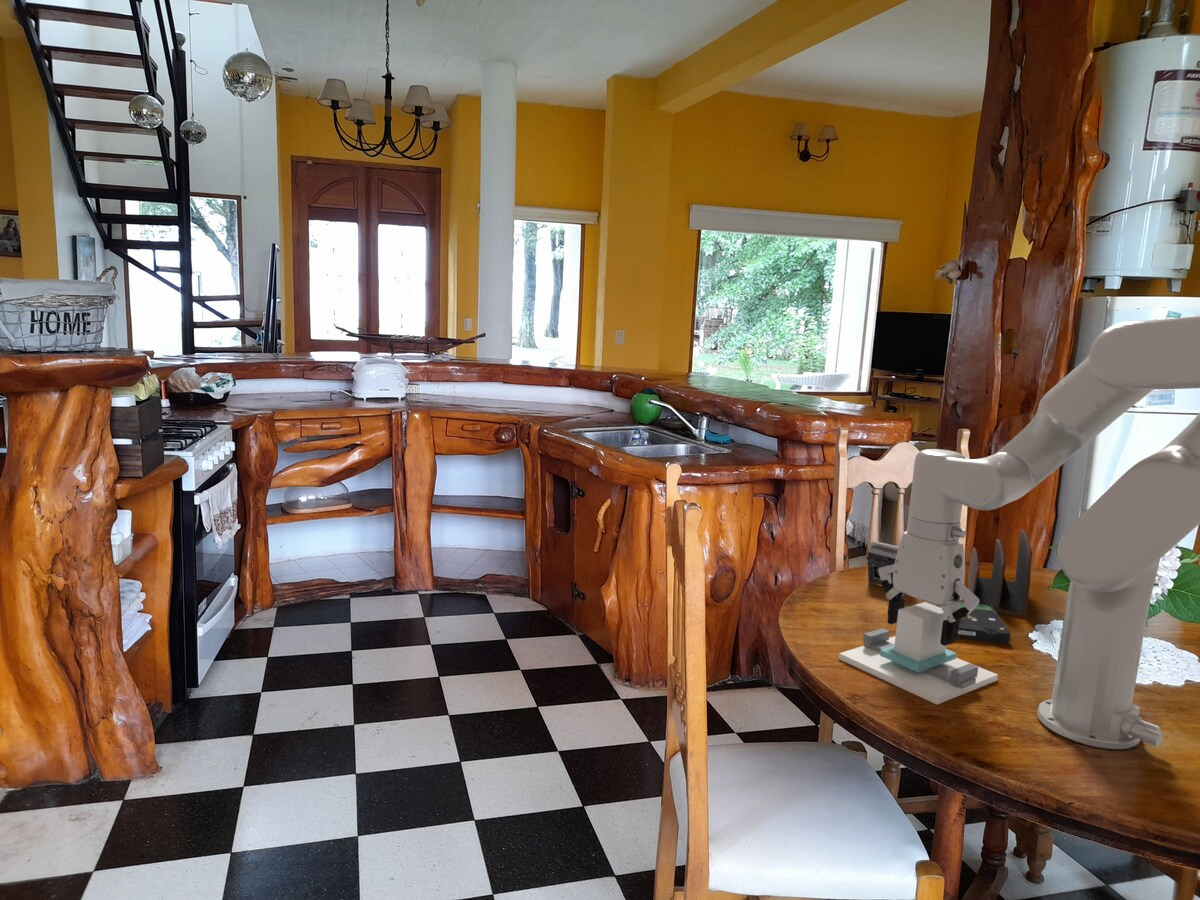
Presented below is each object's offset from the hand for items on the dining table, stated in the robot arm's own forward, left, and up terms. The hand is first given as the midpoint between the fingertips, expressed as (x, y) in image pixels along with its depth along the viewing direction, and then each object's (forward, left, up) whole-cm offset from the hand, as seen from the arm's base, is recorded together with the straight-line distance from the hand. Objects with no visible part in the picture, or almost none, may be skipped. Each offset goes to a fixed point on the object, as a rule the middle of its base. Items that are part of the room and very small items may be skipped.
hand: (920, 632), depth 132 cm
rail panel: (0, 0, -6) cm, 6 cm away
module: (0, 0, -3) cm, 3 cm away
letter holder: (+13, -46, -7) cm, 48 cm away
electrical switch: (+28, -31, -7) cm, 42 cm away
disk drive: (+7, -26, -7) cm, 28 cm away
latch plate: (0, 0, -4) cm, 4 cm away
